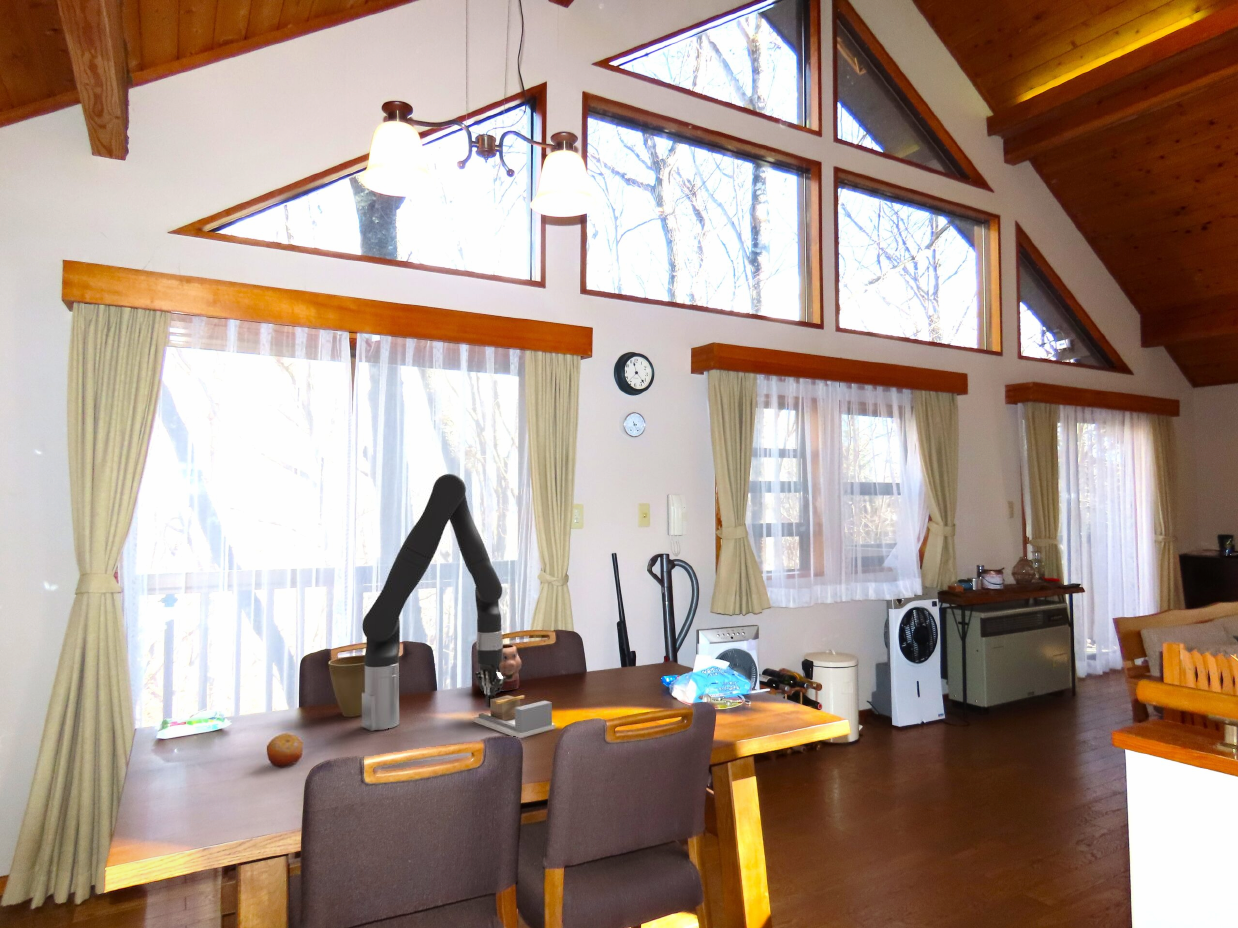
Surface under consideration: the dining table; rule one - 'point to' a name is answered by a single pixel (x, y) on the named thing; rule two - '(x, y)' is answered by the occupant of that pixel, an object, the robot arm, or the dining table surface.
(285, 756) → the fruit
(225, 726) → the dining table surface
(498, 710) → the block
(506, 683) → the decorative planter
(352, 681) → the plant pot
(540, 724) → the base
